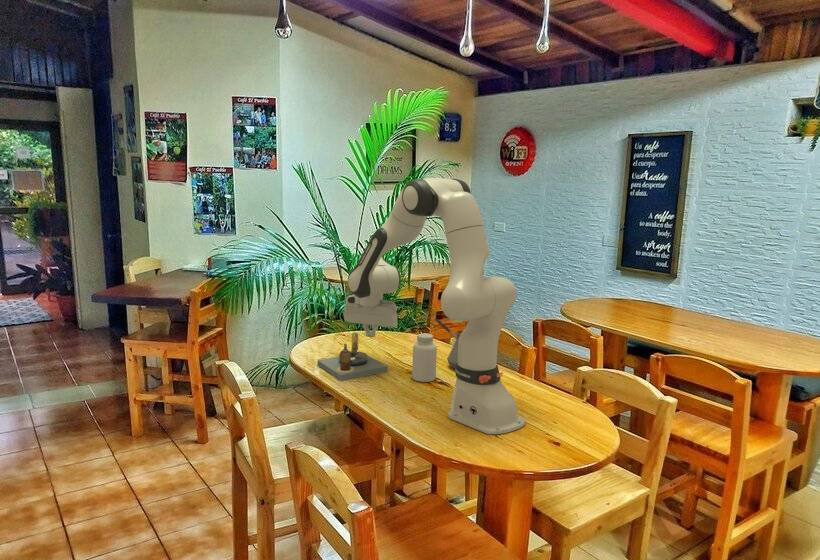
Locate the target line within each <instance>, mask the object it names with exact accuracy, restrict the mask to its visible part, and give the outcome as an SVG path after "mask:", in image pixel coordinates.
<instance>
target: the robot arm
mask: <svg viewBox="0 0 820 560" xmlns="http://www.w3.org/2000/svg"><path fill="white" fill-rule="evenodd" d="M481 213H482V212H481V211H480V207H479V206H478V203H477V200H476V198H475V196H474V195H473V194H472V192H471V189H470V186H469V185H468V183H467V182H466V181H464V180H461V179H459V178H458V179H457V178H445V177H444V178H443V177H442V178H441V177H429V178H427V177H426V178H416V179H412V180H409V181H408V182H406V184H405V185H404V187H402V189H401V190H400V193H399V194H398V196H397V198H396V200H395V202H394V204H393V207H392V209H391V211H390V213H389V215H388V217H387V219H386V220H385V222H384V223H383V224H382V225H381V226H380V227H379V228H378V229H377V230H376V231H374V233H373V234H372V235H371V237H370V239H369V241H368V243H367V245H366V247H365V248H364V250H363V252H362V254H361V255H360V256H359V258H358V262H357V263H356V265H355V266H354V267H353V268H352V270H350V272H349V275H348V277H347V287H348V290H349V291H350V292H351V293H352V295H351V294H350V295H349V296H346V297H345V305H344V309H343V310H344V311H343V316H344V317H343V319H344V320H345V322H346V323H354V324H360V325H362V327H363V330H364V332H365V337H368V338H375V337H376V332H377V331H378V328H379V327H382V328H394V327H396V326H397V325H398V313H397V310H398V309H397V304H396V303H395V302H394V301H392V300H386V299H383V298H384V294H391V293H394V292H397V291H398V289H400V286H401V281H402V279H401V278H402V276H401V272H400V271H399V269H398V268H397V267H396V266H394V265H391V264H389V263H388V262H386V260H384V258H383V256H384V255H385V254H386V253H388V252H389V251H391V250H393V249H396V248H398V247H401V246H403V245H407V244H410V243H411V242H414V241H415V240H416V239H417V238H418V237H419V235H420V234H421V233H422V230H423V228H424V226H425V223H426V221H427V217H432V216H433V217H434V216H436V217H439V218H440V219H441V220H442V223H443V228H444V233H445V234H444V235H445V239H446V244H447V247H448V248H447V250H448V254H449V261H450V271H449V272H450V273H449V279H448V283H447V285H446V287H445V288H444V290H443V292H442V293H441V296H440V304H441V309H442V311H443V313H444V314H445V316H446V317H447V318H448V319H450V320H452V321H457V322H467V325H466V327H465V328H464V329H463V332H462V333H461V334H460V336H459V340H458V362H457V363H456V368H455V369H454V370H455V371H454V372H455V377H456V381H455V384H454V387H453V391H452V397H451V404H450V405H451V406H450V409H449V412H448V414H447V415H448V416H447V418H449V419H450V420H453V421H455V422H457V423H460V424H462V425H464V426H467V427H470V428H471V429H475V430H476V431H479V432H481V433H485V434H487V435H500V434H506V433H510V432H514V431H517V430H519V429H521V428H523V427H524V426H525V425H526V419H524V417H523V416H521V415H519V414H518V408H517V407H518V406H517V402H516V400H515V398H514V396H513V394H512V393H510V391H508V389H507V388H506V386H505V385H504V384H503V382H502V381H501V378H502V377H504V375H503V374H504V372H503V371H502V372H500V369H499V367H498V361H497V360H498V349H499V348H498V347H499V346H498V345H499V339H500V334H501V331H502V329H503V325H504V322H505V319H506V317H507V315H508V314H509V311H510V310H511V309H512V307H513V306H514V305H515V303H516V300H517V288H516V286H515V284H514V283H513V282H512V281H511V280H510V279H509V278H506V277H502V276H497V275H496V276H495V275H491V276H486V277H485V276H484V267H485V266H484V265H485V263H486V260H488V259H489V256H490V246H489V241H488V238H487V233H486V228H485V225H484V221H483V217H482V214H481ZM370 326H371V329H372V330H370V328H369V327H370Z"/></svg>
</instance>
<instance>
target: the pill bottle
mask: <svg viewBox="0 0 820 560" xmlns="http://www.w3.org/2000/svg"><path fill="white" fill-rule="evenodd" d="M416 340H417V341H416V342H415V343H414V344H413V346H412V362H411V363H412V369H411V371H412V372H411V375H412V376H411V378H412V379H413V380H414V381H417V382H421V383H428V382H429V383H430V382H433V381H435V380H436V377H437V374H436V373H437V354H438V347H437V345H436V343H434V335H433V334H431V333H425V332H422V333H418V334H417V336H416Z"/></svg>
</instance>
